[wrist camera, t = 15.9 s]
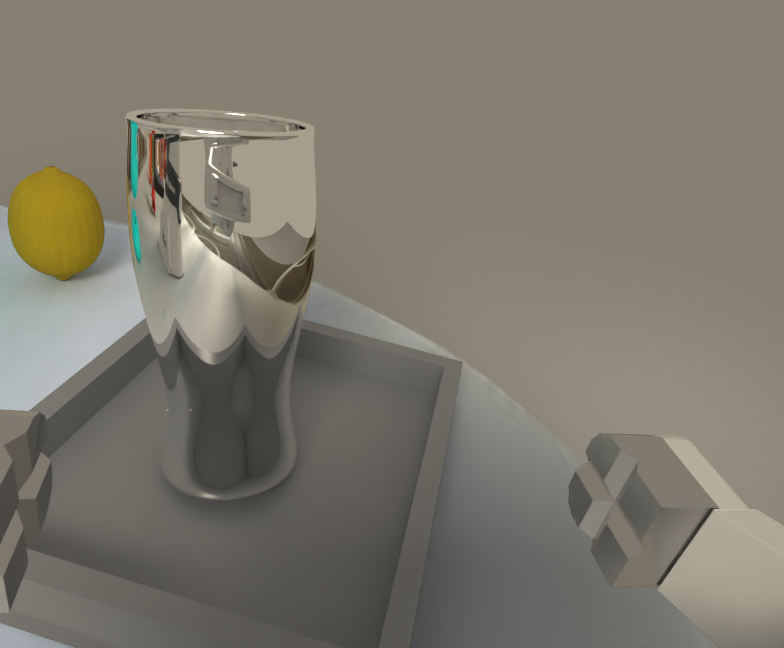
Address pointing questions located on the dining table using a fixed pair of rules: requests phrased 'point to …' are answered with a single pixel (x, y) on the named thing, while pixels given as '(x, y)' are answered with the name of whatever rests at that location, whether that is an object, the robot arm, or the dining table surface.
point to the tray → (242, 509)
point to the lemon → (55, 223)
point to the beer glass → (223, 286)
